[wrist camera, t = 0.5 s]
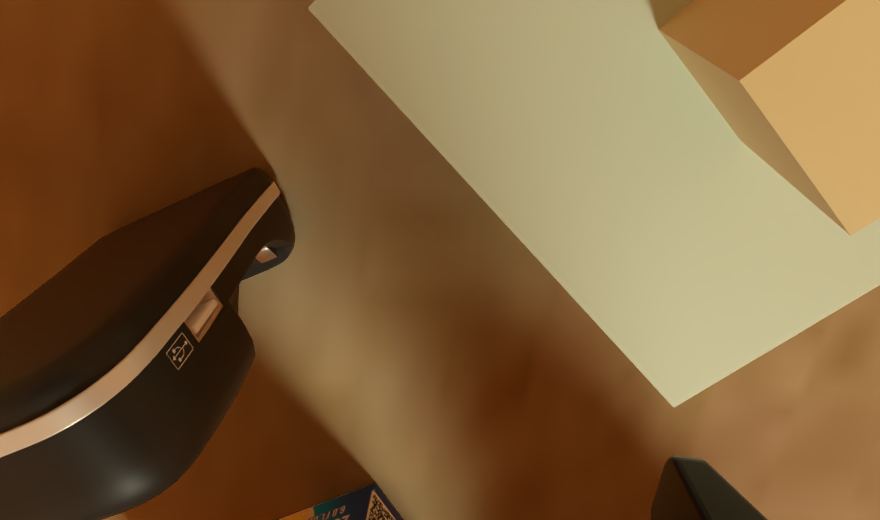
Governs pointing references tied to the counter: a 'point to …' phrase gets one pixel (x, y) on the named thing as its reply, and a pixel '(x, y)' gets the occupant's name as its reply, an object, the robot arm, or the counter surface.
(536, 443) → the counter surface
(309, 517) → the beverage box
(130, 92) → the counter surface
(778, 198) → the lid
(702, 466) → the robot arm
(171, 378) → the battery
